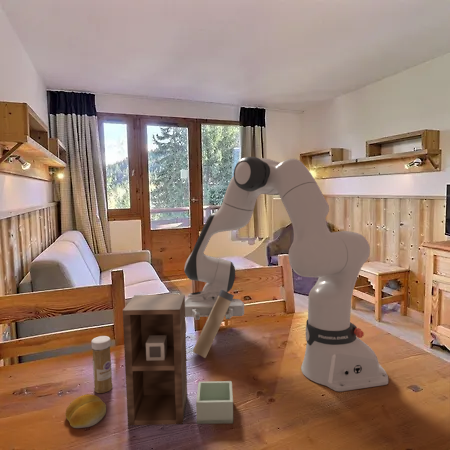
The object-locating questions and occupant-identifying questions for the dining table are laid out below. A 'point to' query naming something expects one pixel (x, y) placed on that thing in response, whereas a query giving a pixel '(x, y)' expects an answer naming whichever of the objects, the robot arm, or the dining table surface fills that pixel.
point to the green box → (214, 402)
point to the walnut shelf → (155, 369)
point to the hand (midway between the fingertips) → (212, 317)
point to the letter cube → (156, 347)
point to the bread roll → (85, 411)
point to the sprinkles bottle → (102, 364)
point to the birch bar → (213, 323)
